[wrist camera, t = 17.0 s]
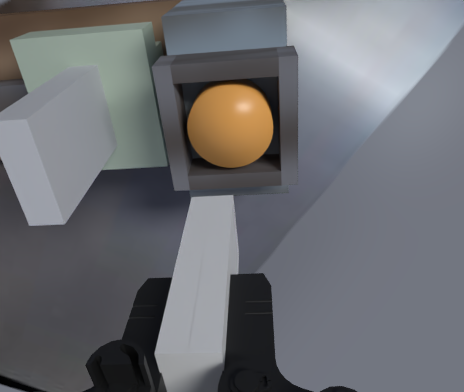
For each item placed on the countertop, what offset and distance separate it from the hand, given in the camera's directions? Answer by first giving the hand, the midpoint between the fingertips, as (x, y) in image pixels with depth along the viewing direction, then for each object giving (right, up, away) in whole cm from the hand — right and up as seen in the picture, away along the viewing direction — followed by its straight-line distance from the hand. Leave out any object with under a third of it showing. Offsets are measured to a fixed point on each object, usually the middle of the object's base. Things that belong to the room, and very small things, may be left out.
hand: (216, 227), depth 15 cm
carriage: (-9, +10, +18) cm, 23 cm away
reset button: (+1, +6, +10) cm, 12 cm away
